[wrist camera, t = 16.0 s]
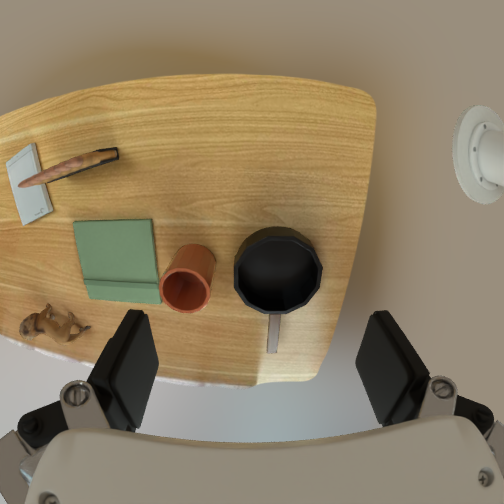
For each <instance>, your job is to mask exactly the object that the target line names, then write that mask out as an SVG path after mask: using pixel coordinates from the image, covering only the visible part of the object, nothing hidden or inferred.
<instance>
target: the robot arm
mask: <svg viewBox="0 0 504 504" xmlns="http://www.w3.org/2000/svg"><path fill="white" fill-rule="evenodd" d="M469 163H470V168H471V171H472V174H473V176H474V178H475V180H476V182H477V183H478V184H479V185H480V186H481V187H482V188H484V189H487V190H495V189H497V188H498V187H499V186H500V185H501V186H503V187H504V132H502V131H501V130H500V129H499V128H498V126H497V125H495V124H494V123H492V122H489V121H483V122H480V123H478V124H477V125H476V126H475V128H474V129H473V131H472V134H471V136H470V141H469ZM158 366H159V361H158V356H157V352H156V349H155V345H154V340H153V336H152V332H151V328H150V323H149V319H148V315H147V314H144V312H143V311H142V310H133V309H130V310H128V312H127V314H126V315H125V317H124V319H123V320H122V322H121V324H120V326H119V327H118V329H117V331H116V332H115V334H114V336H113V338H110V339H109V341H108V342H107V344H106V346H105V348H104V350H103V351H102V353H101V355H100V357H99V359H98V360H97V362H96V364H95V366H94V368H93V370H92V372H91V374H90V376H89V377H88V379H87V381H86V382H85V381H81V380H76V381H72V382H70V383H68V384H66V385H65V386H64V387H63V389H62V390H61V392H60V400H59V401H57V402H54V403H52V404H49V405H47V406H44V407H42V408H39V409H37V410H34V411H31V412H29V413H27V414H25V415H23V416H22V417H21V419H20V420H19V422H18V427H17V428H18V430H17V431H16V432H15V431H14V430H11V431H10V432H9V433H8V434H6V435H5V436H4V437H2V438H1V439H0V493H1V494H2V496H3V497H4V499H5V501H6V502H7V504H504V425H503V424H502V423H501V422H499V421H498V420H497V421H496V422H494V416H493V413H492V411H491V410H490V409H489V408H488V407H486V406H485V405H482V404H479V403H477V402H474V401H472V400H469V399H466V398H464V397H461V396H459V395H457V387H456V385H455V383H454V382H453V381H452V380H451V379H449V378H447V377H445V376H435V377H432V378H430V376H429V374H430V373H429V371H428V369H427V368H426V366H425V365H424V363H423V362H422V360H421V358H420V357H419V355H418V354H417V353H416V351H415V349H414V348H413V346H412V345H411V343H410V342H409V340H408V339H407V337H406V336H405V334H404V333H403V331H402V330H401V329H400V327H399V326H398V324H397V323H396V322H395V320H394V318H393V317H392V316H391V314H390V313H389V312H388V311H387V310H384V311H375V312H374V313H373V315H371V316H370V318H369V321H368V324H367V327H366V331H365V334H364V337H363V340H362V343H361V346H360V349H359V352H358V355H357V358H356V368H357V370H358V373H359V375H360V377H361V380H362V382H363V385H364V387H365V390H366V392H367V395H368V397H369V400H370V402H371V405H372V408H373V410H374V413H375V415H376V418H377V420H378V422H379V424H382V426H383V427H382V428H377V429H373V430H368V431H364V432H358V433H352V434H347V435H340V436H334V437H327V438H319V439H310V440H299V441H286V442H267V443H266V442H264V443H232V442H208V441H196V440H185V439H176V438H168V437H160V436H153V435H147V434H141V433H135V430H136V428H138V429H139V428H140V426H141V423H142V419H143V415H144V412H145V409H146V405H147V402H148V399H149V395H150V392H151V389H152V386H153V382H154V379H155V376H156V373H157V370H158Z"/></svg>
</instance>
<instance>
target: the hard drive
mask: <svg viewBox="0 0 504 504" xmlns="http://www.w3.org/2000/svg"><path fill="white" fill-rule="evenodd" d="M6 167H7V171H8V176H9V180H10V184H11V188H12V192H13V195H14V199H15V202H16V205H17V209H18V212H19V215H20V218H21V221H22V224H23V226H24V225H26V224H28V223H30V222H32V221H34V220H36V219H38V218H40V217H41V216H43V215H45V214H47V213H49V212H51V211H53V208H52V205H51V202H50V199H49V195H48V192H47V189H46V185H45V183H44V184H41V185H34V186H30V187H26V188H19V187H18V184H19V183H20V182H22V181H23V180H25V179H27V178H30V177H31V176H33V175H35V174H38V173H40V172H41V167H40V163H39V159H38V155H37V150H36V145H35V143H31V144H29V145H28V146H26V147H25V148H24V149H22V150H21V151H20V152H19V153H17V154H16V155H15V156H13V157H12V158H11V159H10V160H9V161H7V162H6Z"/></svg>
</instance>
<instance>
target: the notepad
mask: <svg viewBox="0 0 504 504" xmlns="http://www.w3.org/2000/svg"><path fill="white" fill-rule="evenodd" d="M73 227H74V233H75V239H76V244H77V249H78V254H79V259H80V263H81V267H82V272H83V276H84V284H85V285H86V288H87V291H88V295H89V298H90V299H98V300H109V301H121V302H133V303H148V304H161V303H162V298H161V296H160V292H159V278H158V271H157V263H156V255H155V246H154V237H153V226H152V219H119V220H88V221H74V222H73Z"/></svg>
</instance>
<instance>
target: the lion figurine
mask: <svg viewBox="0 0 504 504" xmlns="http://www.w3.org/2000/svg"><path fill="white" fill-rule="evenodd" d="M46 307H47V308H46V309H44V310H43V311H42V312H41V313H40V314H39V313H34V314H31V315H30V316H28V317H27V318H25V319H24V320H23V322H22V323H21V324H20V329H19V333H20V335H21V336H22V337H23V339H27V340H32V338H34V337H36V336H38V335H39V334H44V335H47V336H49V337H51V338H52V339H54V340H55V341H56V342H57V343H58V344H60V345H63V346H67V345H68V344H71V343H73V342H74V341H75V340H77V339H78V338H81V337H82V335H83V334H84V333H85V330H87V329H88V328H90V326H86V327H85V328H80V329H79V331H80V333H78V334H70V329H71V326H72V325H73V324H74V316H73V314H72V313H69V314H68V316H69V318H70V321H69V322H67V323H66V324H64V325H63V326H62V327H61V328H60V326H59V325H58V323H56V322H55V321H54V319H55V317H54V315H52V314H51V315H50V318H46V315H47V313H48V312H49V311H50V310H51V306H50V304H47V305H46Z"/></svg>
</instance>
